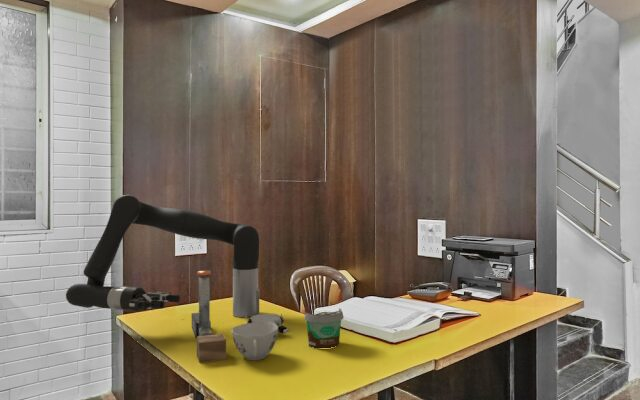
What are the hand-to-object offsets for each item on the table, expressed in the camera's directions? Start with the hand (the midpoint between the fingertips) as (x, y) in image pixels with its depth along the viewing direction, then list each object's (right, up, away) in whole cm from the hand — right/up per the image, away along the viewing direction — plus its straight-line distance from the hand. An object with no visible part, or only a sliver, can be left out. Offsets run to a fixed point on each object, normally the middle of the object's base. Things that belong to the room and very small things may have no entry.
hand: (171, 301), depth 142 cm
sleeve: (+7, -11, +6) cm, 15 cm away
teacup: (+29, -11, -18) cm, 36 cm away
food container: (+48, -11, -9) cm, 50 cm away
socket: (+16, -11, -18) cm, 27 cm away
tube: (+9, -10, +2) cm, 14 cm away
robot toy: (+29, -12, +5) cm, 32 cm away
